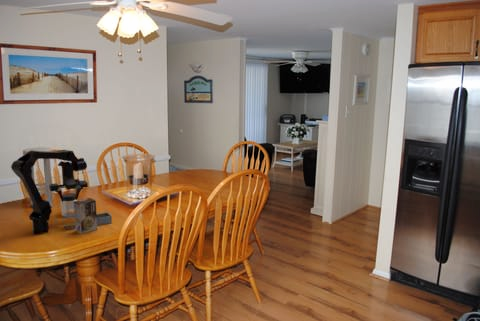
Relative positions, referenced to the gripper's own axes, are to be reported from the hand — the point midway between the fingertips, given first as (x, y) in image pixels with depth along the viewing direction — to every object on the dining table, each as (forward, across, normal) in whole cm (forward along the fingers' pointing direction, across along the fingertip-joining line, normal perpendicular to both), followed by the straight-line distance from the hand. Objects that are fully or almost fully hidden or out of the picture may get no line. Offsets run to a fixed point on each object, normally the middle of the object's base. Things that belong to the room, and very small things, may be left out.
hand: (69, 200), depth 210 cm
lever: (+6, +3, -6) cm, 9 cm away
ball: (+3, -2, -10) cm, 11 cm away
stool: (+12, -9, +41) cm, 44 cm away
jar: (+12, +2, +12) cm, 17 cm away
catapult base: (+12, +3, -10) cm, 16 cm away
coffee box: (+12, +4, -17) cm, 22 cm away
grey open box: (+12, +15, -10) cm, 21 cm away
